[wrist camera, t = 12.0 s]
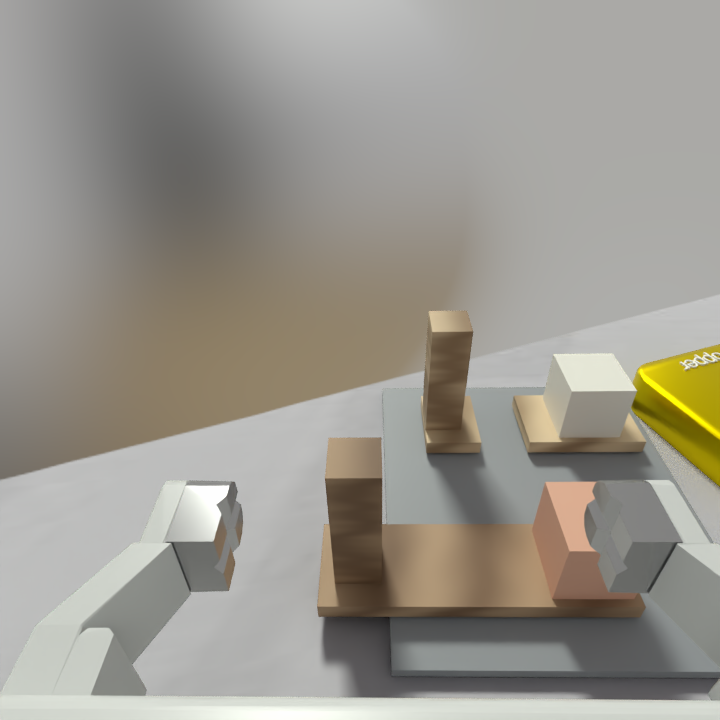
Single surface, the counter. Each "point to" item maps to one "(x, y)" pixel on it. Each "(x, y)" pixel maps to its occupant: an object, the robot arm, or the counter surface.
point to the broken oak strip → (455, 411)
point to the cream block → (588, 395)
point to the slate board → (517, 506)
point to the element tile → (684, 405)
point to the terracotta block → (569, 543)
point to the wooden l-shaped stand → (428, 558)
